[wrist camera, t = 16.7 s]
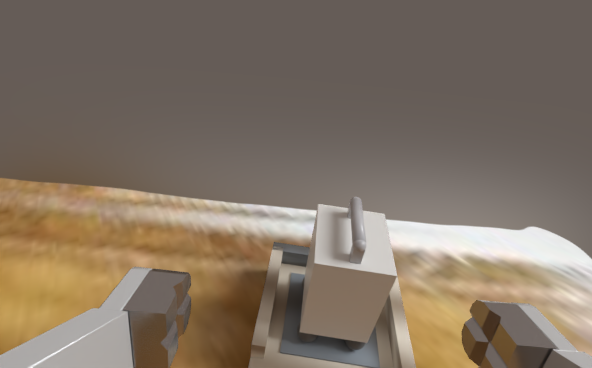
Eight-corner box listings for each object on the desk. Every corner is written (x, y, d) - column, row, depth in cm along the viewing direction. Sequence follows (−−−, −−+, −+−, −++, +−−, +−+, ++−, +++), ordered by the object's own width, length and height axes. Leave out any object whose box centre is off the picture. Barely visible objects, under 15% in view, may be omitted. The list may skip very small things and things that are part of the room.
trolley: (364, 356, 29) (408, 258, 22) (294, 345, 29) (315, 243, 22) (359, 290, 35) (392, 195, 27) (301, 281, 35) (319, 184, 28)
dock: (402, 419, 28) (421, 394, 25) (245, 394, 28) (246, 366, 25) (382, 287, 39) (393, 260, 37) (271, 270, 40) (274, 242, 37)
